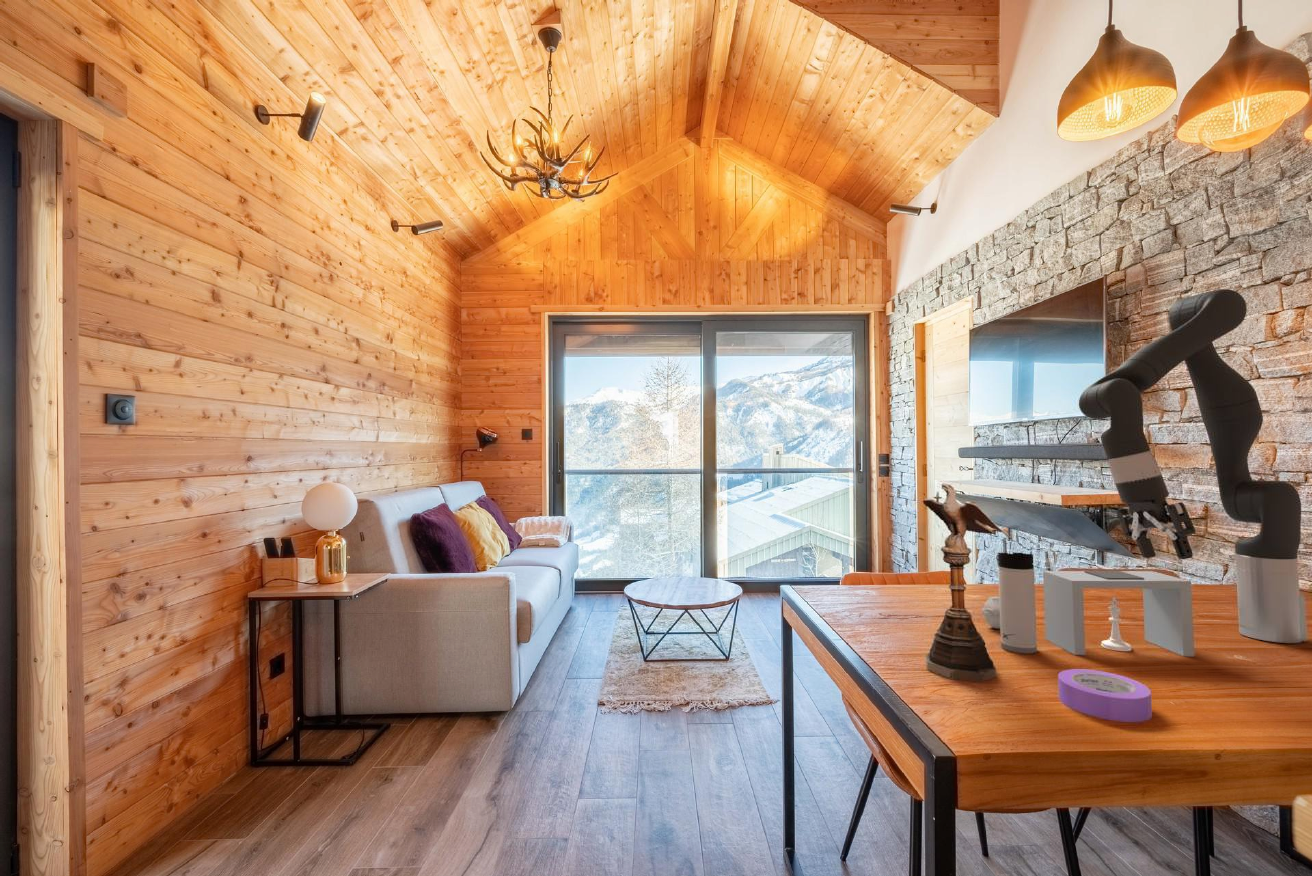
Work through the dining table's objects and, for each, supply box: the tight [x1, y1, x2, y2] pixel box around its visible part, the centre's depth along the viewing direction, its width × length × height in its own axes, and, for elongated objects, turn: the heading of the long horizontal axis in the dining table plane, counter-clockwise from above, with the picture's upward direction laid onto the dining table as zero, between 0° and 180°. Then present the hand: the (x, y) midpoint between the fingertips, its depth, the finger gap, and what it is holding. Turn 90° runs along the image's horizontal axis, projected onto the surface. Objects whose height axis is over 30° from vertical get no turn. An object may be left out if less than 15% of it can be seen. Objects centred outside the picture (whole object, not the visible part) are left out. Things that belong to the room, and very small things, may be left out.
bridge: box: [1042, 570, 1195, 657], centre depth 120 cm, size 22×10×14 cm, turn 85°
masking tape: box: [1057, 668, 1153, 723], centre depth 92 cm, size 12×12×4 cm
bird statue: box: [922, 483, 1012, 682], centre depth 111 cm, size 17×13×35 cm
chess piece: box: [1101, 597, 1133, 652], centre depth 120 cm, size 5×5×10 cm
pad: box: [1083, 570, 1144, 580], centre depth 120 cm, size 7×7×1 cm
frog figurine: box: [981, 596, 1000, 630], centre depth 134 cm, size 6×7×7 cm
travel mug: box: [997, 551, 1038, 655], centre depth 119 cm, size 6×7×20 cm
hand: (1167, 557), depth 114 cm, fingers open, 8 cm apart
